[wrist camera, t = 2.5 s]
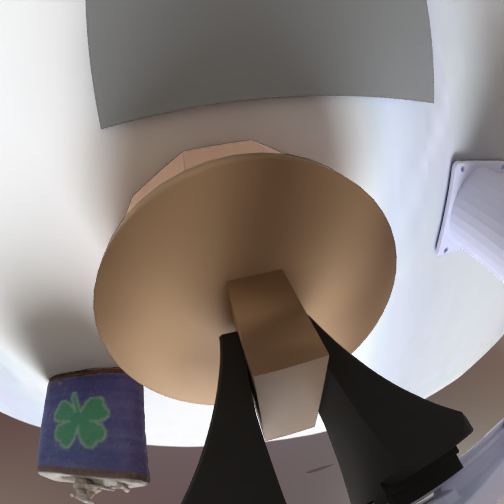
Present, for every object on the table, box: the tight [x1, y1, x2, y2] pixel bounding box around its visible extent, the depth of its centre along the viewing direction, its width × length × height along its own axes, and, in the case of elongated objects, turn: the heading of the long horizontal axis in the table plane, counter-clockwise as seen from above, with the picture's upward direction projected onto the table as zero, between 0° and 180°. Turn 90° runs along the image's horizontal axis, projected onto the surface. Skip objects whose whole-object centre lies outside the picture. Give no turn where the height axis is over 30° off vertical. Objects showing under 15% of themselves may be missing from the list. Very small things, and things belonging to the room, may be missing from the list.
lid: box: [93, 152, 397, 441], centre depth 10 cm, size 13×13×5 cm
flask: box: [37, 367, 150, 504], centre depth 15 cm, size 9×3×11 cm, turn 96°
